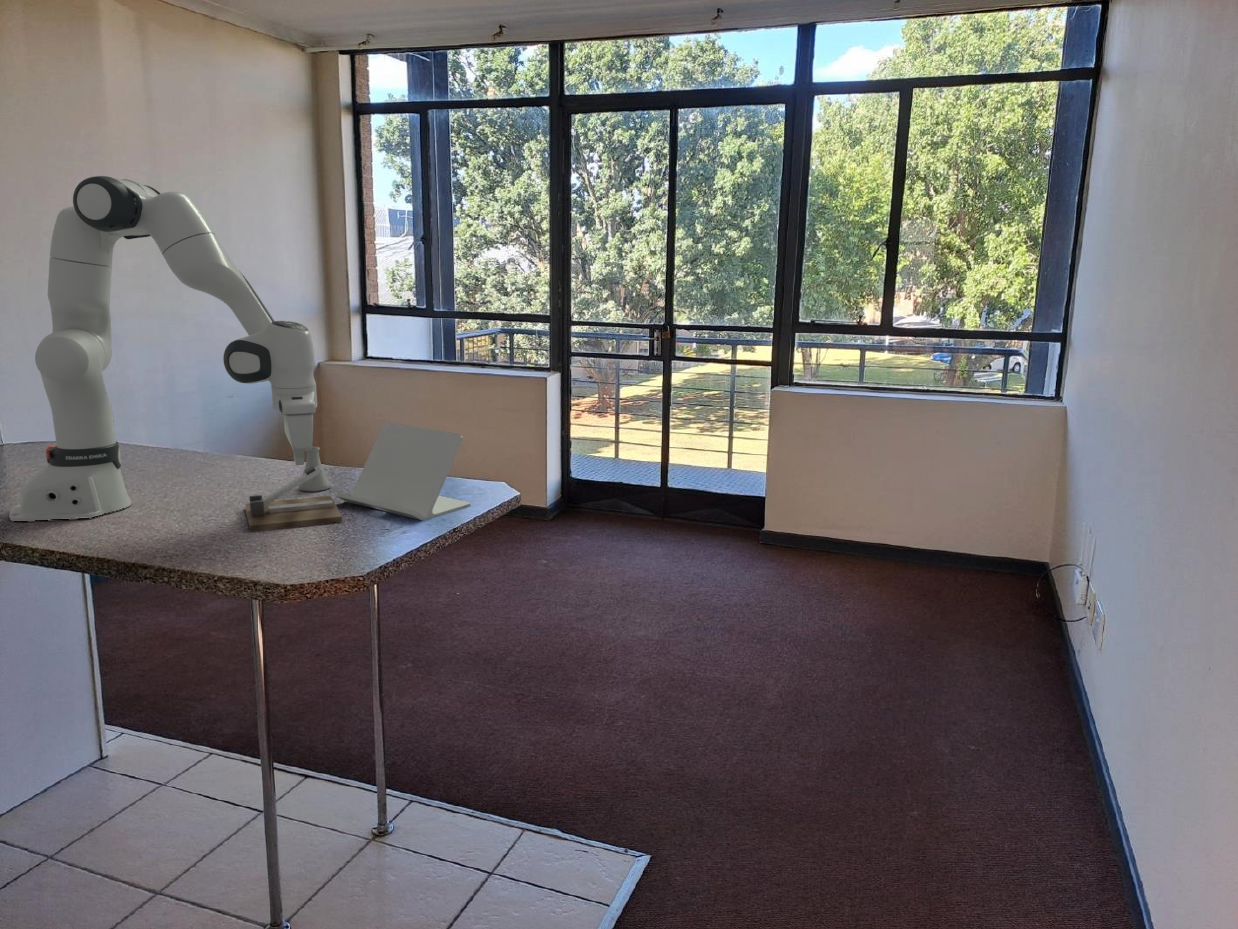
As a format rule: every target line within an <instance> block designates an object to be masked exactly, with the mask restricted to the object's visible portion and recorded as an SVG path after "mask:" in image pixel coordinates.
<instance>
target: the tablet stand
mask: <svg viewBox="0 0 1238 929" xmlns="http://www.w3.org/2000/svg"><path fill="white" fill-rule="evenodd" d="M463 440H464V436H463V435H461V434H460V433H455V432H449V431H444V430H443V431H442V430H437V429H430V428H426V427H425V428H424V427H419V426H412V425H407V424H400V423H393V422H388V421H386V422H384V423H383V425H382V427H381V429H380V432H379V433H378V436H377V438H376V440H375V443H374V445H373V446H372V449H371V451H370V453H369V455H368V458H367V460H366V462H365V464H364V466H363V468H362V470H361V473H360V475H359V476H358V479H357V481H356V483H355V485H354V487H353V489H352V492H351V494H346V493H343V492H337V493H336V495H335V497H336V498H339V499H340V500H342V501H344V502H346V501H347V502H346V503H349V504H354V503H355V504H354V505H359V506H362V507H366V508H370V509H374V508H375V509H374V510H378V509H379V511H382V510H383V512H387V513H391V514H393V515H394V514H395V515H399V516H402V517H403V516H404V517H407V518H411V519H415V520H419V521H424V522H425V521H427V520H429V519H433V518H437V517H439V516H444V515H446V514H449V513H451V512H456V511H459V510H462V509H465V508H468V507H471V504H472V503H471V502H468V501H464V500H459V499H456V498H455V499H454V498H452V497H451V498H450V497H446V496H442V495H440V493H441V490H442V489H443V486H444V484H445V482H446V479H447V477H448V475H449V472H450V470H451V468H452V465H453V463H454V461H455V458H456V456H457V454H458V451H459V449H460V447H461V445H462V443H463Z"/></svg>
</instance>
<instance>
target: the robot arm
mask: <svg viewBox="0 0 1238 929" xmlns="http://www.w3.org/2000/svg"><path fill="white" fill-rule="evenodd" d="M72 204H73V206H69V207H65V208H63V209H62V210H60V211H59V212H58V214H57V217H56V219H55V224H54V227H53V230H52V236H51V241H50V249H49V250H50V251H49V262H48V264H49V266H48V280H47V281H48V283H47V298H48V299H47V300H48V301H49V305H50V312H51V321H52V333H49V334H47V335H46V336H45V337H44V338H42V340H41V341H40V342H39V344H38V346H37V348H36V351H35V355H34V361H35V364H36V368H37V370H38V371H39V373H40V376H41V381H42V384H43V387H44V390H45V393H46V396H47V399H48V403H49V406H50V409H51V414H52V422H53V429H54V437H55V443H56V445H54V444H52V445H51V444H50V445H49V446H48V447H47V448H46V450H45V452H46V453H45V456H46V461H47V465H46V466H45V467H44V468H43V469H41V470H40V471H38V473H36V474H34V476H32V477H31V478H29V480H27V481H26V483H25V484H24V485H23V487H22V489H21V491H20V492H21V493H20V497H19V498H20V499H19V500H20V501H19V502H20V504H18V505H16V506H14V507H12V508H11V509H10V511H9V513H8V514H9V515H8V518H10V519H9V520H10V521H11V522H14V521H28V522H36V521H35V520H48V519H61V518H75V517H93V516H97V515H101V516H102V514H103V513H106V514H109V513H108V512H110V513H112V512H111V511H114V512H117V511H116V510H118V511H120V510H119V509H121V510H123V509H122V508H124V509H126V508H128V507H130V506H131V505H132V504H133V502H132V500H131V498H130V496H129V494H128V491H127V488H126V486H125V485H126V484H125V481H124V478H123V475H122V471H121V466H122V458H121V457H122V454H121V447H120V444H119V442H118V441H117V438H116V429H115V420H114V413H113V411H114V410H113V406H112V404H111V401H110V399H109V395H108V392H107V390H106V385H105V380H104V376H103V371H104V370H106V369H107V367H108V366H109V365H110V362H111V360H112V354H113V353H112V352H113V349H112V321H111V305H110V304H111V288H112V286H111V285H112V272H113V256H114V255H113V253H114V247H115V244H116V243H117V241H118V240H119V239H121V238H124V239H126V240H134V239H140V238H149V237H151V238H152V239H153V240H154V243H155V244H156V245H157V247H158V249H159V251H160V253H161V254H162V257H163V259H164V260H165V262H166V264H167V265H168V268H169V269H170V270H171V272H172V274H174V276H175V277H176V278H177V279H178V280H179V281H180V283H182V284H184V285H185V286H186V287H188V288H191V289H193V290H196V291H199V292H202V293H205V294H208V295H209V296H212V297H214V298H215V299H216V298H217V300H219V301H221V302H223V303H224V304H226V306H228V308H229V309H230V310H231V311H232V312H233V314H234V316H235V317H236V318H237V320H238V321H239V323H240V324H241V326H242V327H243V329H244V331H245V332H246V333H247V335H246V336H243V337H240V338H238V339H236V340H233V341H231V342H230V343H229V344H227V345H226V348H225V350H224V352H223V366H224V369H225V371H226V372H227V374H228V375H229V376H230V378H232V379H233V380H234V381H235V382H238V383H240V384H248V385H250V384H251V385H253V384H258V383H264V382H267V381H268V382H269V383H270V385H271V386H270V387H271V400H272V401H271V402H272V409H273V410H276V411H278V412H279V416H280V417H281V418H283V424H284V425H283V426H284V427H283V428H284V434H285V436H286V439H287V440H288V442H289V444H290V446H291V449H292V452H293V462H294V463H295V465H296V466H304V465H305V453H306V452H307V451H309V450H311V448H312V447H313V434H314V414H315V413H316V411H317V409H316V408H318V394H317V382H316V380H315V377H314V375H315V374H314V371H315V361H316V360H315V352H314V344H313V338H312V335H311V332H310V330H309V329H308V327H306V326H305V325H304V324H302V323H299V322H296V321H290V320H289V321H287V320H274V318H273V316H272V315H271V313H270V312H269V310H268V309H267V307H266V306H265V304H264V303H263V301H262V300H261V298H260V297H259V295H258V293H257V292H256V291H255V289H254V288H253V286H252V284H250V282H249V281H248V279H247V278H246V277H245V275H244V274H243V273H242V272H241V270H240V269H239V268H238V267H237V266H236V265H235V263H234V262H233V260H232V259H231V257H230V256H229V254H228V253H227V252H226V250H225V249H224V247H223V246H222V243H221V242H220V240H219V239H218V237H217V235H216V233H215V231H214V230H213V227H211V225H210V223H209V222H208V220H207V219H206V218H205V215H204V213H202V212H201V210H200V209H199V208H198V206H197V205H196V204H195V203H194V201H193V200H192V199H191V198H190V197H189V196H188V195H186V194H184V193H182V192H178V191H166V192H163V193H162V192H160V191H158V190H157V189H155V188H154V187H152V186H150V185H146V184H142V183H140V182H137V181H134V180H130V179H127V178H126V179H124V178H114V177H110V176H105V175H98V176H97V175H96V176H89V177H87V178H85V179H83V180H82V181H80V182H79V183H78V185H77V186H76V187H75V189H74V191H73V196H72ZM103 515H104V514H103ZM48 521H49V520H48Z"/></svg>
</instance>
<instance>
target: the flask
mask: <svg viewBox="0 0 1238 929" xmlns="http://www.w3.org/2000/svg"><path fill="white" fill-rule="evenodd" d="M320 450H321V448H320V447H319V446H312V448H311V450H309V451H306V462H305V466H304V469H303V472H302V475H303V474H305V471H304V470H306V469H308V468H310V467H311V466H313V467H314V468H315V467H317V466H319V467H320V468H321V470H322V472H321V473H319V474H318V475H316V476H314V477H313V478H311V479H309V480H308V481H306V482H304V483H302V484H301V485H299V486H298V489H299V490H300V491H303V492H313V493H314V492H319V491H325V490H328V489H330V488H332V484H331V483H330V480H329V478H328V477H327V475H326V472H325V470H324V467H323V465H322V463H321V458H320Z"/></svg>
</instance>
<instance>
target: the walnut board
mask: <svg viewBox="0 0 1238 929" xmlns="http://www.w3.org/2000/svg"><path fill="white" fill-rule="evenodd" d="M329 500H332V502H333V507H332V508H322V509H311V510H301V511H291V512H281V513H271V514H269V508H268V506H276V505H286V504H297V503H308V502H318V501H329ZM244 505H245V513H246V518H247V523H248V528H249V532H256V531H257V532H258V531H266V530H277V528H279V529H287V528H297V526H298V527H305V525H307V526H313V525H312V524H317V525H323V524H322V523H326V524H333V523H332V522H336V523H342V522H343V516H342V514H341V512H340V510H339V509H338V507H337V504H336V503H335V501H334V499H333V498H332V495H326V496H314V497H313V496H311V497H302V498H292V499H281V500H274V501H272V502H270V503H269V504H267V505H265V506H264V516H262V517H252V512H251V509H250V502H249V503H245V504H244Z"/></svg>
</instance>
